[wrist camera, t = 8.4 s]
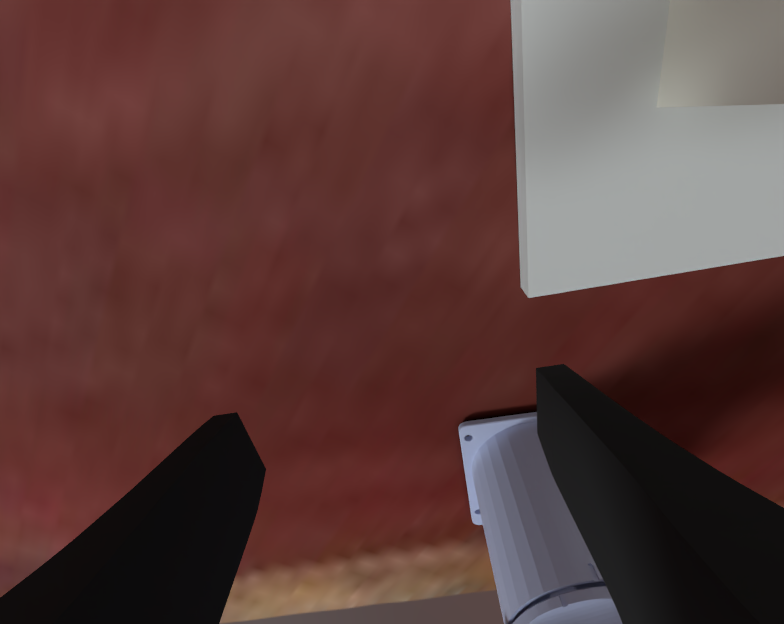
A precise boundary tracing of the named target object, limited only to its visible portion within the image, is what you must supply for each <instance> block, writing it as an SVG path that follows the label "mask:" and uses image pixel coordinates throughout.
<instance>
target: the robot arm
mask: <svg viewBox="0 0 784 624" xmlns="http://www.w3.org/2000/svg"><path fill="white" fill-rule="evenodd" d="M536 388H537V412H532V413H525V414H517V415H510V416H503V417H495V418H488V419H481V420H473V421H466V422H463V423H461V424H460V425H459V428H458V430H459V436H460V443H461V450H462V456H463V463H464V470H465V477H466V483H467V490H468V497H469V503H470V510H471V517H472V521H473V523H474V524H477V525H483V527H484V532H485V537H486V541H487V546H488V551H489V555H490V560H491V565H492V569H493V574H494V579H495V583H496V588H497V593H498V597H499V602H500V607H501V611H502V616H503V620H504V624H784V508H783V507H781V506H779V505H777V504H776V503H774V502H772V501H770V500H769V499H767V498H765V497H763V496H761V495H760V494H758V493H756V492H754V491H752V490H751V489H749V488H747V487H745V486H744V485H742V484H740V483H738V482H737V481H735V480H733V479H732V478H730V477H728V476H727V475H725V474H723V473H722V472H720V471H718V470H717V469H715V468H713V467H712V466H710V465H709V464H707V463H705V462H704V461H702V460H701V459H699V458H697V457H696V456H694V455H693V454H691V453H689V452H688V451H686V450H685V449H683V448H682V447H680V446H678V445H677V444H675V443H674V442H672V441H671V440H669V439H668V438H666V437H665V436H663V435H662V434H660V433H659V432H657V431H656V430H654V429H653V428H651V427H650V426H649V425H647V424H646V423H644V422H643V421H641V420H640V419H638V418H637V417H636V416H634V415H633V414H631V413H630V412H628V411H627V410H626V409H624V408H623V407H621V406H620V405H619V404H617V403H616V402H614V401H613V400H612V399H610V398H609V397H608V396H606V395H605V394H604V393H602V392H601V391H599V390H598V389H597V388H595V387H594V386H593V385H591V384H590V383H589V382H587V381H586V380H585V379H583V378H582V377H581V376H579V375H578V374H577V373H575V372H574V371H573V370H571V369H570V368H568V367H567V366H566V365H564V364H561V365H554V366H548V367H541V368H536ZM467 435H470V436H467ZM265 471H266V468H265V466H264V464H263V462H262V460H261V459H260V457H259V455H258V453H257V451H256V449H255V447H254V445H253V443H252V441H251V439H250V437H249V435H248V433H247V431H246V429H245V427H244V425H243V423H242V421H241V419H240V417H239V415H238V413H230V414H223V415H216V416H213V417H212V418H211V419H209V420H208V421H207V422H206V423H204V424H203V425H202V426H201V427H200V428H199V429H197V430H196V431H195V432H194V433H193V434H192V435H191V436H190V437H188V438H187V439H186V440H185V441H184V442H183V443H182V444H181V445H180V446H179V447H177V448H176V449H175V450H174V451H173V452H172V453H171V454H170V455H169V456H168V457H167V458H166V459H164V460H163V461H162V462H161V463H160V464H159V465H158V466H157V467H156V468H155V469H153V470H152V471H151V472H150V473H149V474H148V475H147V476H146V477H145V478H144V479H143V480H141V481H140V482H139V483H138V484H137V485H136V486H135V487H134V488H133V489H132V490H130V491H129V492H128V493H127V494H126V495H125V496H124V497H123V498H121V499H120V500H119V501H118V502H117V503H116V504H114V505H113V506H112V507H111V508H110V509H109V510H108V511H106V512H105V513H104V514H103V515H102V516H101V517H99V518H98V519H97V520H96V521H95V522H94V523H93V524H91V525H90V526H89V527H88V528H87V529H86V530H84V531H83V532H82V533H81V534H80V535H79V536H78V537H76V538H75V539H74V540H73V541H72V542H70V543H69V544H68V545H67V546H65V547H64V548H63V549H62V550H61V551H59V552H58V553H57V554H56V555H54V556H53V557H52V558H51V559H49V560H48V561H47V562H46V563H44V564H43V565H42V566H41V567H39V568H38V569H37V570H36V571H34V572H33V573H32V574H30V575H29V576H28V577H26V578H25V579H24V580H23V581H21V582H20V583H19V584H17V585H16V586H15V587H14V588H12V589H11V590H10V591H8V592H7V593H6V594H4V595H3V596H2V597H0V624H219V622H220V619H221V616H222V613H223V610H224V607H225V605H226V602H227V599H228V596H229V593H230V590H231V587H232V584H233V581H234V578H235V576H236V573H237V570H238V567H239V564H240V561H241V558H242V555H243V552H244V550H245V547H246V544H247V541H248V538H249V535H250V532H251V529H252V526H253V523H254V520H255V517H256V513H257V510H258V505H259V501H260V497H261V492H262V487H263V482H264V477H265Z"/></svg>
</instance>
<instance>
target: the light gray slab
mask: <svg viewBox="0 0 784 624" xmlns="http://www.w3.org/2000/svg"><path fill="white" fill-rule="evenodd" d="M669 4H670V0H511V24H512V52H513V81H514V109H515V137H516V166H517V194H518V223H519V251H520V280H521V288H522V290H523V291H524V292H525V294H526V295H527V296H528V298H531V297H537V296H544V295H550V294H556V293H562V292H568V291H574V290H580V289H586V288H592V287H598V286H604V285H610V284H616V283H622V282H628V281H634V280H640V279H646V278H652V277H658V276H664V275H670V274H676V273H682V272H688V271H694V270H700V269H706V268H713V267H719V266H725V265H731V264H737V263H743V262H749V261H755V260H761V259H767V258H773V257H779V256H784V104H767V105H731V106H696V107H660V108H657V101H658V93H659V85H660V77H661V69H662V61H663V53H664V45H665V37H666V28H667V20H668V12H669Z"/></svg>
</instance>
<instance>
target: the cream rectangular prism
mask: <svg viewBox="0 0 784 624" xmlns="http://www.w3.org/2000/svg"><path fill="white" fill-rule="evenodd" d="M767 104H784V0H670V4H669V12H668V20H667V28H666V37H665V45H664V53H663V61H662V69H661V77H660V85H659V93H658V101H657V108H660V107H696V106H731V105H767Z"/></svg>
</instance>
